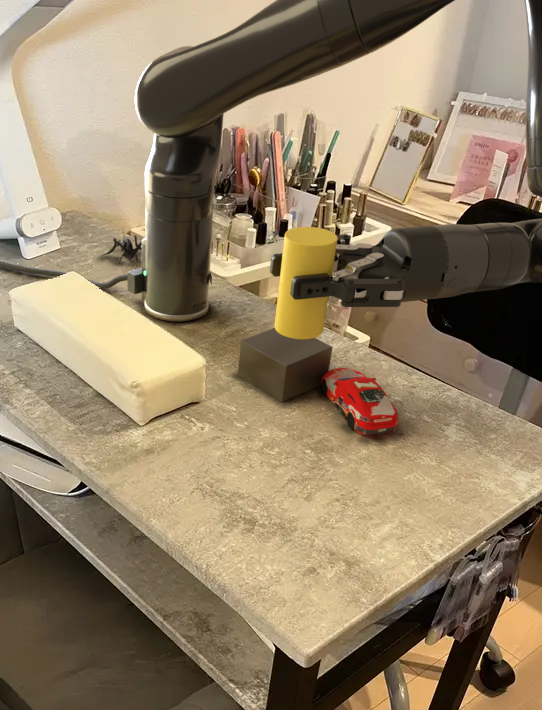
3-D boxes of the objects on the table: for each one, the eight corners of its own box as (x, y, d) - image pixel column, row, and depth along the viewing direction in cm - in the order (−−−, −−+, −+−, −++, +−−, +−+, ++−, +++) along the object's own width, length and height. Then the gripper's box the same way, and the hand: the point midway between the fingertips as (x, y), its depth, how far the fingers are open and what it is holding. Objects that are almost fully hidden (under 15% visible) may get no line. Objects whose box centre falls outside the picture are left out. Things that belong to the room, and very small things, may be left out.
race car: (314, 384, 97) (318, 355, 94) (354, 380, 98) (359, 351, 95) (356, 442, 87) (362, 412, 84) (400, 437, 88) (408, 407, 85)
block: (237, 375, 98) (240, 340, 95) (282, 357, 102) (286, 323, 99) (281, 402, 93) (286, 365, 90) (327, 382, 97) (333, 346, 94)
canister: (264, 325, 83) (273, 233, 76) (298, 313, 85) (310, 223, 79) (298, 344, 80) (311, 249, 73) (333, 330, 82) (348, 238, 76)
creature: (96, 260, 129) (110, 267, 123) (93, 227, 127) (107, 232, 120) (140, 254, 132) (156, 261, 125) (138, 222, 129) (154, 226, 123)
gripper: (405, 204, 85) (260, 215, 81) (478, 253, 74) (314, 268, 70) (391, 270, 89) (254, 283, 86) (458, 325, 79) (304, 342, 75)
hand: (282, 276), depth 78 cm, fingers closed on canister, 5 cm apart
